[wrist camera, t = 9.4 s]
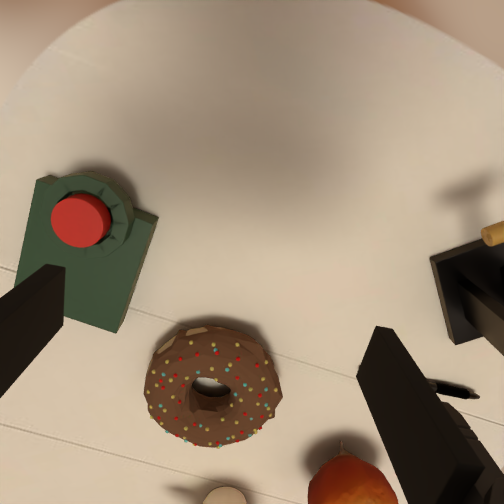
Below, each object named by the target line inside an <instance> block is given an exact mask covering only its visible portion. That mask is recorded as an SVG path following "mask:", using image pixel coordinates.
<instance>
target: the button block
mask: <svg viewBox="0 0 504 504" xmlns="http://www.w3.org/2000/svg"><path fill="white" fill-rule="evenodd" d="M80 193H84V194H89V195H92V196H95V197H96V198H98V199H99V200H101V201H102V202H103V203H104V204H105V206H106V207H107V209H108V211H109V213H110V217H111V225H110V228H109V230H108V232H107V233H106V235H105V236H103V237H102V238H101V239H100V240H99V241H98V242H97V243H95V244H94V245H92V246H89V247H84V248H80V247H74V246H71V245H68V244H67V243H65V242H63V241H62V240H61V239H60V238H59V237H58V236H57V235H56V233H55V232H54V230H53V227H52V224H51V214H52V211H53V209H54V207H55V206H56V204H57V203H59V202H60V201H62V200H64V199H66V198H68V197H70V196H72V195H75V194H80ZM158 219H159V218H158V217H156V216H154V215H151V214H148V213H146V212H143V211H141V210H138V209H136V208H133V207H132V204H131V200H130V197H129V196H128V195H127V194H126V192H125V191H124V190H123V189H122V188H121V187H120V186H119V185H118V184H117V182H116V181H115V180H113V179H111V178H108V177H106V176H103V175H101V174H98V173H96V172H93V171H88V172H81V173H73V174H69V175H66V176H63V177H61V178H56V177H53V176H51V175H49V176H46V177H43V178H40V179H37V180H36V184H35V189H34V194H33V198H32V203H31V208H30V213H29V218H28V222H27V227H26V232H25V237H24V241H23V246H22V251H21V256H20V261H19V265H18V270H17V275H16V280H15V284H14V287H16V286H17V285H18V284H20V283H21V282H22V281H24V280H25V279H26V278H27V277H29V276H30V275H31V274H33V273H34V272H35V271H37V270H38V269H39V268H41V267H42V266H43V265H45V264H52V265H57V266H62V267H66V273H65V296H64V316H65V317H68V318H71V319H74V320H77V321H80V322H83V323H86V324H89V325H92V326H95V327H98V328H101V329H104V330H107V331H110V332H113V333H117V331H118V330H119V328H120V326H121V325H122V323H123V321H124V318H125V315H126V312H127V309H128V306H129V304H130V301H131V298H132V295H133V292H134V289H135V286H136V283H137V280H138V277H139V274H140V271H141V268H142V265H143V263H144V260H145V257H146V254H147V251H148V248H149V245H150V242H151V239H152V236H153V233H154V230H155V227H156V224H157V222H158Z"/></svg>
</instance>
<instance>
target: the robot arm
mask: <svg viewBox="0 0 504 504" xmlns="http://www.w3.org/2000/svg"><path fill="white" fill-rule="evenodd" d="M65 273H66V267H62V266H57V265H52V264H45V265H43V266H42V267H41V268H39V269H38V270H37V271H35V272H34V273H33V274H31V275H30V276H29V277H27V278H26V279H25V280H24V281H22V282H21V283H20V284H18V285H17V286H16V287H14V288H13V289H12V290H10V291H9V292H8V293H6V294H5V295H4V296H2V297H1V298H0V398H1V397H2V396H3V395H4V393H5V392H6V391H7V390H8V389H9V388H10V386H11V385H12V384H13V383H14V382H15V381H16V379H17V378H18V377H19V376H20V375H21V374H22V372H23V371H24V370H25V369H26V368H27V367H28V366H29V364H30V363H31V362H32V361H33V360H34V359H35V357H36V356H37V355H38V354H39V353H40V352H41V350H42V349H43V348H44V347H45V346H46V345H47V343H48V342H49V341H50V340H51V339H52V338H53V337H54V335H55V334H56V333H57V332H58V331H59V330H60V328H61V327H62V326H63V319H64V296H65ZM356 378H357V380H358V383H359V385H360V388H361V390H362V392H363V395H364V397H365V400H366V402H367V405H368V407H369V409H370V412H371V414H372V417H373V419H374V422H375V424H376V426H377V429H378V431H379V434H380V436H381V439H382V441H383V444H384V446H385V448H386V451H387V453H388V456H389V458H390V461H391V463H392V465H393V468H394V470H395V473H396V475H397V478H398V480H399V483H400V485H401V487H402V490H403V492H404V495H405V497H406V500H407V502H408V504H504V474H503V473H502V471H501V470H500V469H499V467H498V466H497V464H496V463H495V461H494V460H493V459H492V457H491V456H490V454H489V453H488V452H487V450H486V449H485V447H484V446H483V444H482V443H481V442H480V441H478V437H477V436H476V435H475V433H474V432H473V430H471V429H470V426H469V425H468V423H467V422H466V420H465V419H464V418H463V416H462V415H461V414H460V413H459V412H458V411H457V410H456V409H455V408H454V407H452V406H451V405H450V404H449V403H447V402H441V400H440V399H439V397H438V396H437V394H436V393H435V391H434V390H433V388H432V387H431V385H430V384H429V382H428V381H427V379H426V378H425V376H424V375H423V373H422V372H421V370H420V369H419V367H418V366H417V364H416V363H415V361H414V360H413V359H412V357H411V356H410V354H409V353H408V351H407V350H406V348H405V347H404V345H403V344H402V342H401V341H400V339H399V338H398V336H397V335H396V333H395V332H394V330H393V329H391V328H385V327H380V326H376V327H375V329H374V332H373V334H372V337H371V340H370V342H369V345H368V347H367V350H366V352H365V355H364V357H363V360H362V362H361V365H360V368H359V370H358V373H357V375H356Z"/></svg>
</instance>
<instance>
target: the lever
mask: <svg viewBox="0 0 504 504" xmlns="http://www.w3.org/2000/svg"><path fill="white" fill-rule="evenodd" d="M481 236H482V238H483V240H484V242H485V243H486V244H487V245H488V246H495V245H498V244H501V243H503V242H504V221H501V222H498V223H496V224H493V225H490V226H487V227H485V228H483V229H482V230H481Z"/></svg>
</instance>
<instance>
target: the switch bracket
mask: <svg viewBox="0 0 504 504" xmlns="http://www.w3.org/2000/svg"><path fill="white" fill-rule="evenodd" d="M430 261H431V265H432V269H433V273H434V277H435V281H436V285H437V289H438V293H439V297H440V301H441V305H442V309H443V313H444V317H445V321H446V325H447V329H448V333H449V337H450V340H451V341H452V342H453V343H454V344H455V345H458V344H462V343H465V342H468V341H471V340H474V339H477V338H480V337H483V336H484V337H485V338H486V339H487V340H488V341H489V342H490V343H491V344H492V345H493V346H494V347H495V348H496V349H497V350H498V351H499V352H500V353H501V354H502V355H503V356H504V242H503V243H501V244H498V245H495V246H488V245H487V244H486V243H485V242H484V240H483V239H481V240H478V241H475V242H473V243H470V244H467V245H464V246H461V247H459V248H456V249H453V250H450V251H447V252H444V253H442V254H439V255H436V256H433V257H430Z"/></svg>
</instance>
